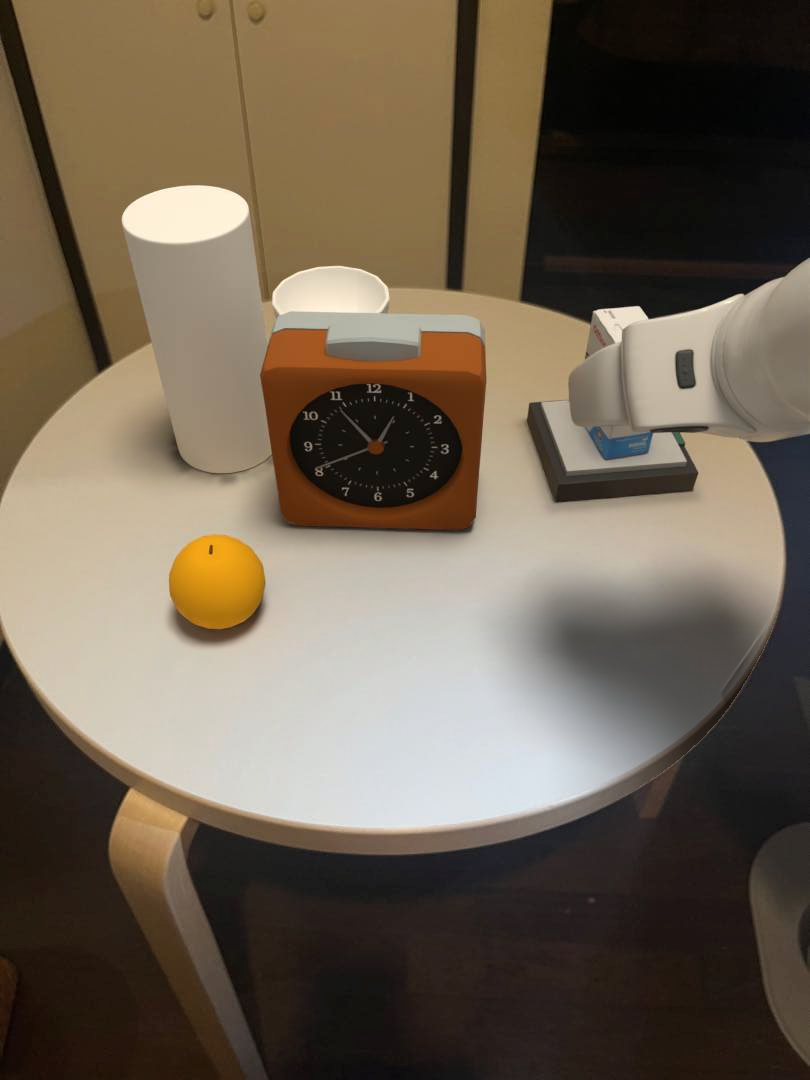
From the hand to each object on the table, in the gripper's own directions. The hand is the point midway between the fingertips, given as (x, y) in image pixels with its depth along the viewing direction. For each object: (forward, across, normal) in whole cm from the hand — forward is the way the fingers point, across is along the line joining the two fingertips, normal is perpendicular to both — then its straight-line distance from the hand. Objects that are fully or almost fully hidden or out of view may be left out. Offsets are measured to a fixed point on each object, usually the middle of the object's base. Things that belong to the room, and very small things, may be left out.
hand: (680, 399), depth 65 cm
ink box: (+23, -2, 0) cm, 23 cm away
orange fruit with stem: (+13, +37, +13) cm, 42 cm away
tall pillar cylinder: (+30, +37, -3) cm, 48 cm away
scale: (+25, -2, +2) cm, 25 cm away
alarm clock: (+22, +22, +5) cm, 32 cm away
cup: (+36, +25, -9) cm, 45 cm away
